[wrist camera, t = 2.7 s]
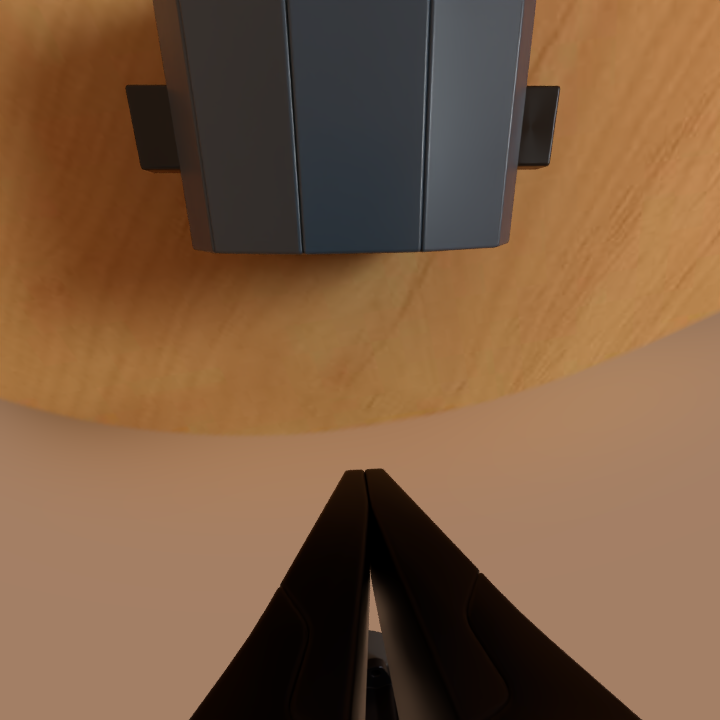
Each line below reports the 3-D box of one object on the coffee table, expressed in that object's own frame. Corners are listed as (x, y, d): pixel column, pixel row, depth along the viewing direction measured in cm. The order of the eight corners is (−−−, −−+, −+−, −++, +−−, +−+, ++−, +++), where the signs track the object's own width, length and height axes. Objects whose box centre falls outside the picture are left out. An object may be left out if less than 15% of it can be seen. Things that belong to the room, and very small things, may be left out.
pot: (481, 238, 13) (644, 247, 6) (209, 243, 12) (56, 261, 6) (504, -19, 11) (809, -466, 4) (168, -25, 10) (-180, -558, 3)
